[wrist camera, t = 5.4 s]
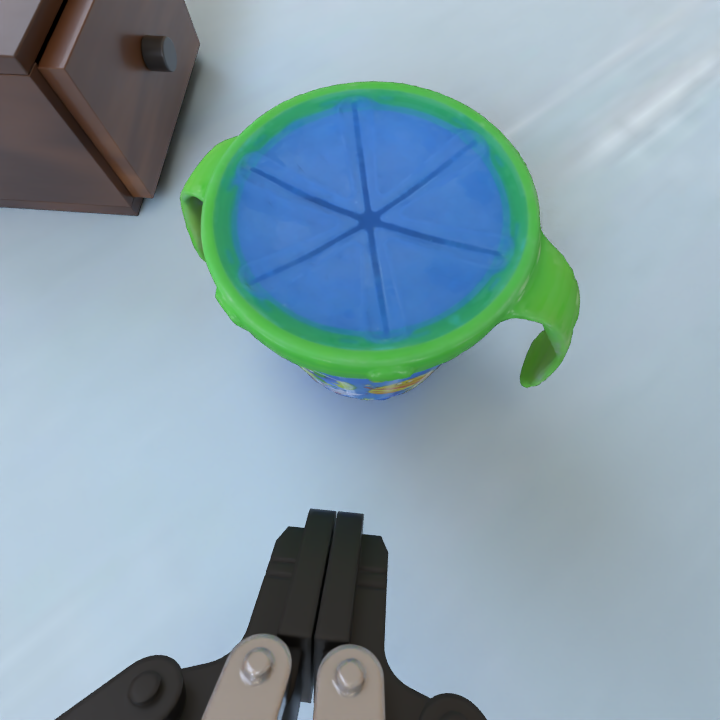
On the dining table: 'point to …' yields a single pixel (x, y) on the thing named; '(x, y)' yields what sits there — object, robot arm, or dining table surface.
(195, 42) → the drawer
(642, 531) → the dining table surface
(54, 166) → the cabinet
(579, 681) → the dining table surface
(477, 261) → the snack cup
